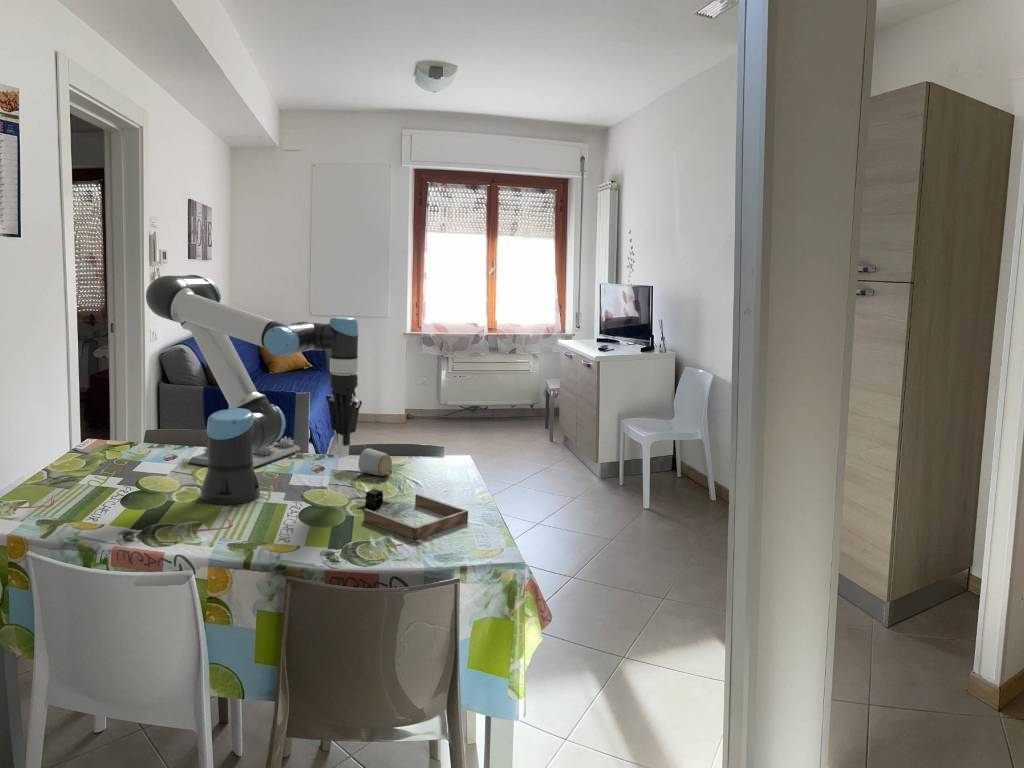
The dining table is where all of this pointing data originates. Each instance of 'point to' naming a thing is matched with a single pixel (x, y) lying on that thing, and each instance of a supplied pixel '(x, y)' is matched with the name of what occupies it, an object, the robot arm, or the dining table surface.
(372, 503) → the black wall mount bracket
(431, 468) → the dining table surface
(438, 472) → the dining table surface
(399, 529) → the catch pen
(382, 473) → the ceramic mug
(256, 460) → the flat grey tray
